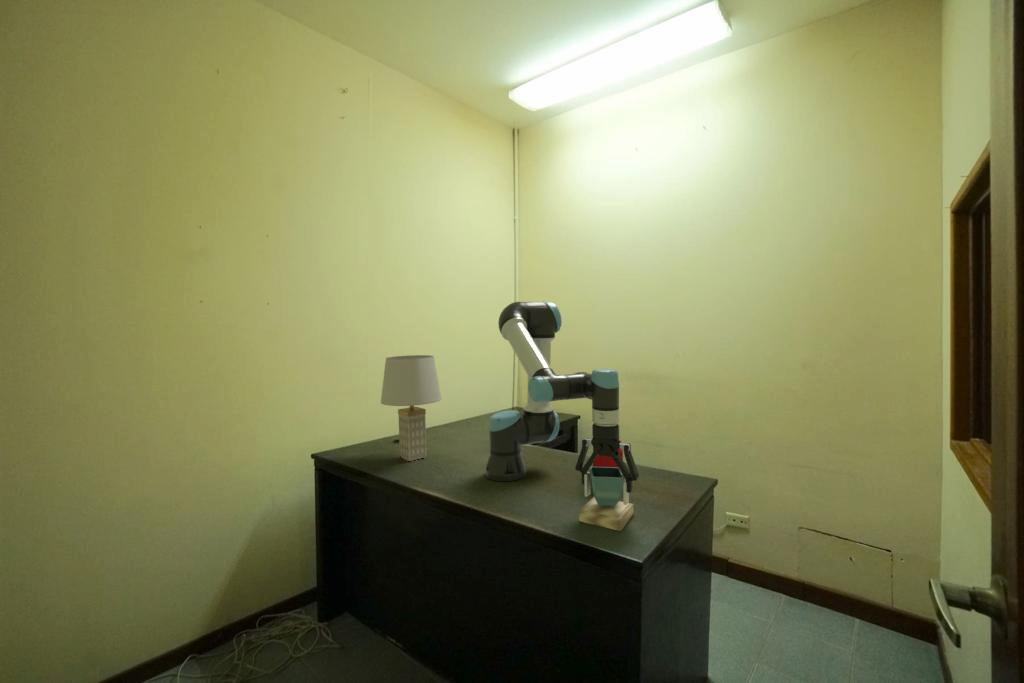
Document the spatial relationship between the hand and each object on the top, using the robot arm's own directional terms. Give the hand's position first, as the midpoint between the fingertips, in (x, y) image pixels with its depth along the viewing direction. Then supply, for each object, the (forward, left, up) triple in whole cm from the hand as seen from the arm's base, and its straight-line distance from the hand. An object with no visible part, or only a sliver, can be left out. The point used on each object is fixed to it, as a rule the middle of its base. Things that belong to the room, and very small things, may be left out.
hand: (606, 499), depth 124 cm
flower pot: (0, 0, -1) cm, 1 cm away
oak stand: (0, 0, -5) cm, 5 cm away
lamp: (-91, +14, -6) cm, 92 cm away
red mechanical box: (-10, +29, -6) cm, 31 cm away
